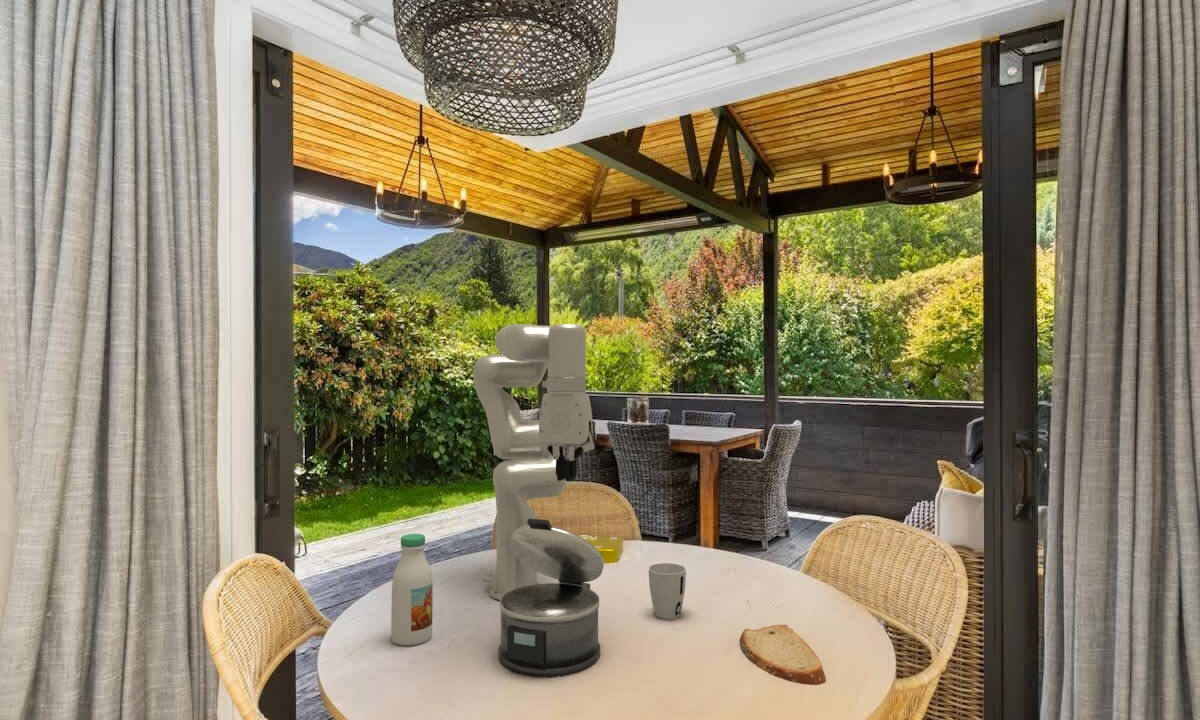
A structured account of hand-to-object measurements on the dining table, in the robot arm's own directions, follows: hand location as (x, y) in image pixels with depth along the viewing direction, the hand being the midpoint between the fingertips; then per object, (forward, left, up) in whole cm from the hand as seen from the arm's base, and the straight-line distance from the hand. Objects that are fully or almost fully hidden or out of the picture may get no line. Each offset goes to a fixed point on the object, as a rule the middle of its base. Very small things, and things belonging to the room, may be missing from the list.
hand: (566, 479), depth 125 cm
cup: (+15, +20, -31) cm, 40 cm away
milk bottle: (-28, -11, -31) cm, 43 cm away
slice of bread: (+40, +8, -32) cm, 52 cm away
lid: (0, -5, -14) cm, 15 cm away
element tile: (-17, +57, -32) cm, 67 cm away
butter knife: (+34, +25, -32) cm, 53 cm away
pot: (0, -6, -31) cm, 32 cm away
